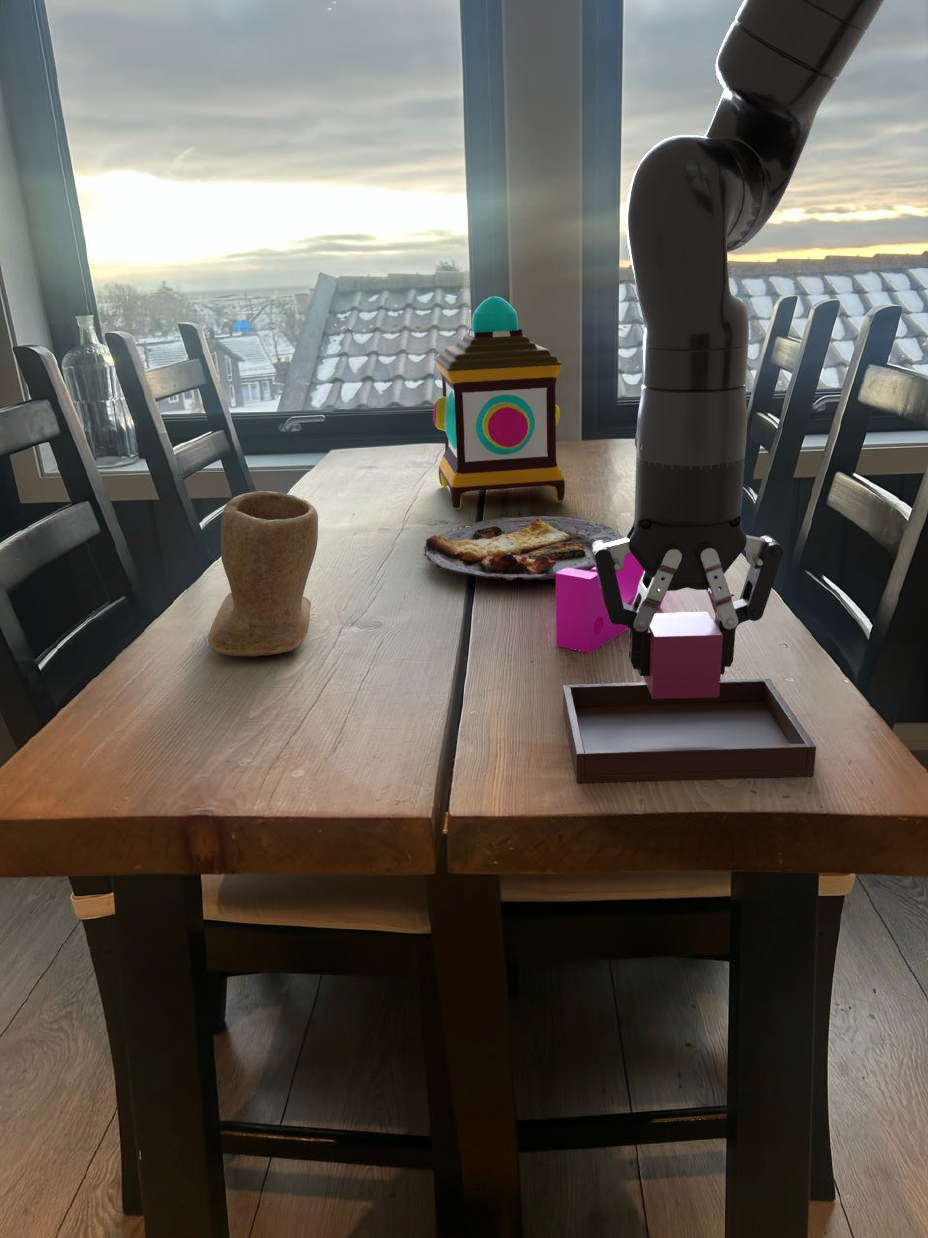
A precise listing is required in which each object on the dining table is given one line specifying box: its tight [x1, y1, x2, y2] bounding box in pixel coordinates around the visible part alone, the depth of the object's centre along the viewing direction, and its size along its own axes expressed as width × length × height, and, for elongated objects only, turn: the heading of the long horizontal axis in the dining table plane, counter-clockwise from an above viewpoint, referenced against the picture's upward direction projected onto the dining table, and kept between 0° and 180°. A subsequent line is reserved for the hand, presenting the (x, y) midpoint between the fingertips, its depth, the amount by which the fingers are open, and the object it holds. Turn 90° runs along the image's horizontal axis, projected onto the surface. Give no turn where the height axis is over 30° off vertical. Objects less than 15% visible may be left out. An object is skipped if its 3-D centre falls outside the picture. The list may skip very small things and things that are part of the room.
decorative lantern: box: [432, 295, 566, 511], centre depth 154 cm, size 20×20×30 cm
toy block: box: [555, 553, 662, 654], centre depth 102 cm, size 15×6×8 cm, turn 143°
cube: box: [642, 611, 723, 699], centre depth 76 cm, size 5×5×5 cm
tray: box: [562, 678, 817, 784], centre depth 78 cm, size 17×12×2 cm
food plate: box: [423, 515, 626, 583], centre depth 124 cm, size 25×23×4 cm
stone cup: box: [207, 490, 319, 657], centre depth 101 cm, size 15×12×15 cm
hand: (680, 670), depth 76 cm, fingers closed on cube, 5 cm apart
